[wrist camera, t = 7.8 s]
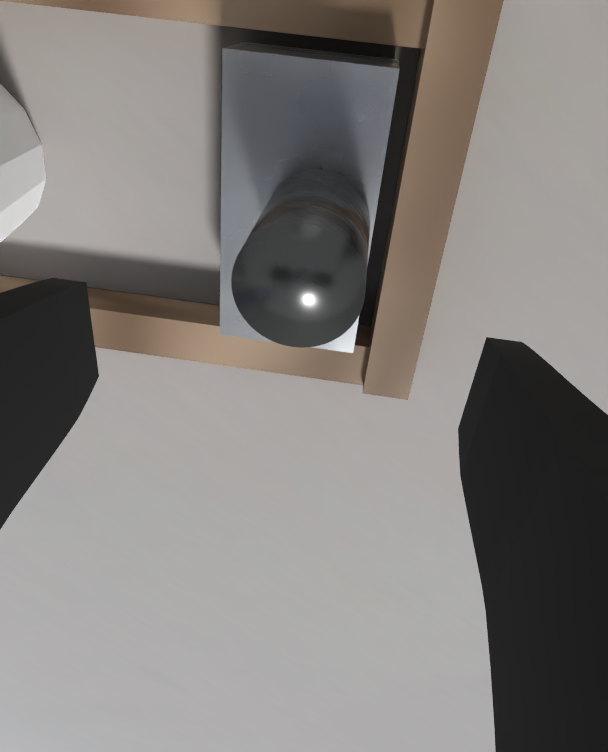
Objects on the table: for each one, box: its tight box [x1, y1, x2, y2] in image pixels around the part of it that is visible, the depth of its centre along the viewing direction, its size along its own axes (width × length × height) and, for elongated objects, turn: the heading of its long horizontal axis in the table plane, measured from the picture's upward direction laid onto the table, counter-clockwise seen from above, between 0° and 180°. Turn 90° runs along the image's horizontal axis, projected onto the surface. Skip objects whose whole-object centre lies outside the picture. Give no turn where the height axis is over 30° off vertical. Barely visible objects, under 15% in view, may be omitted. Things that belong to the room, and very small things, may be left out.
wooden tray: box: [0, 0, 503, 400], centre depth 17 cm, size 22×12×5 cm, turn 85°
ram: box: [220, 42, 400, 353], centre depth 16 cm, size 4×8×7 cm, turn 175°
